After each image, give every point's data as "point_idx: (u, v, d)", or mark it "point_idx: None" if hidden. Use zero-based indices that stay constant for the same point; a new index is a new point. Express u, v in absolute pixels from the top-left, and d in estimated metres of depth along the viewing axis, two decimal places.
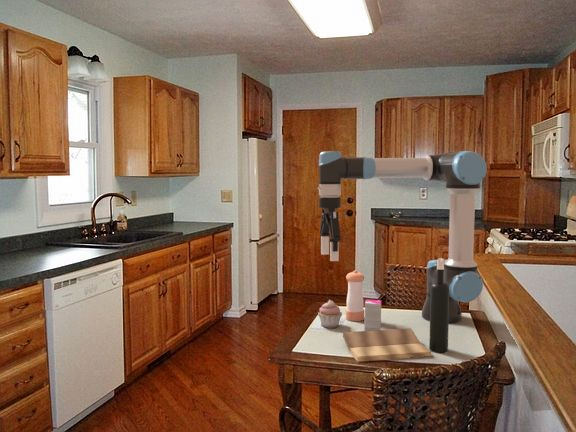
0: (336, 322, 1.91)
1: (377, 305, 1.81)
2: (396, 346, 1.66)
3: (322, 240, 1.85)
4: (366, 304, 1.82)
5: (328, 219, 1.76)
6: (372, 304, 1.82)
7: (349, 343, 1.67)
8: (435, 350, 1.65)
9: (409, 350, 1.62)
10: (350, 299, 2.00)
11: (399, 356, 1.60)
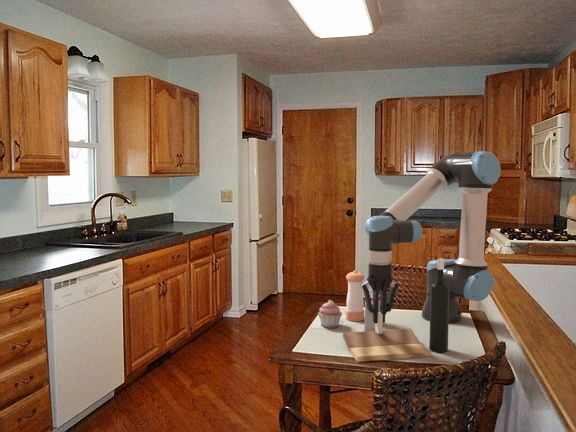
0: (336, 322, 1.91)
1: None
2: (396, 346, 1.66)
3: None
4: None
5: None
6: (372, 304, 1.82)
7: (349, 343, 1.67)
8: (435, 350, 1.65)
9: (409, 350, 1.62)
10: (350, 299, 2.00)
11: (399, 356, 1.60)
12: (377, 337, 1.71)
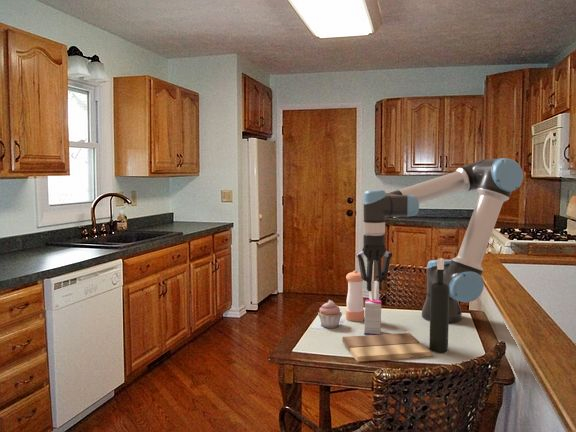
0: (336, 322, 1.91)
1: (377, 305, 1.81)
2: (396, 346, 1.66)
3: (374, 284, 1.84)
4: (366, 304, 1.82)
5: None
6: (372, 304, 1.82)
7: (349, 344, 1.67)
8: (435, 350, 1.65)
9: (409, 350, 1.62)
10: (350, 299, 2.00)
11: (399, 356, 1.60)
12: (376, 339, 1.71)
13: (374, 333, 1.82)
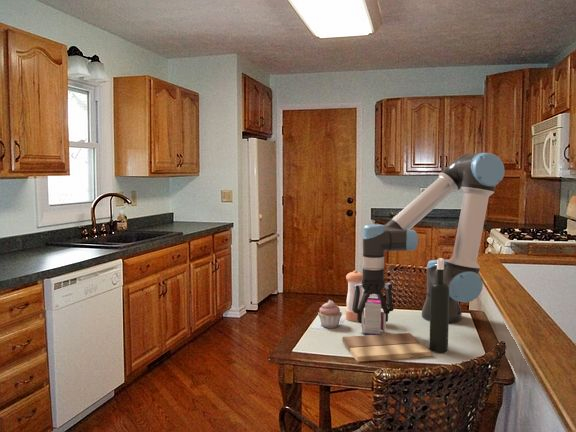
0: (336, 322, 1.91)
1: (377, 305, 1.81)
2: (396, 346, 1.66)
3: (381, 315, 1.86)
4: (366, 304, 1.82)
5: None
6: (372, 304, 1.82)
7: (349, 344, 1.67)
8: (435, 350, 1.65)
9: (409, 350, 1.62)
10: (350, 299, 2.00)
11: (399, 356, 1.60)
12: (376, 339, 1.71)
13: (374, 333, 1.82)
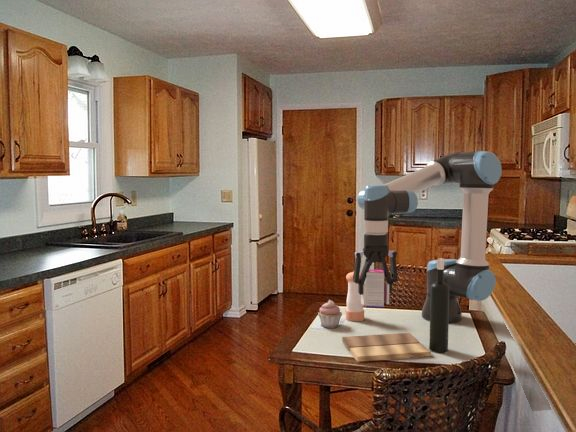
0: (336, 322, 1.91)
1: (380, 274, 1.63)
2: (396, 346, 1.66)
3: (384, 287, 1.68)
4: (367, 274, 1.64)
5: None
6: (374, 273, 1.63)
7: (349, 344, 1.67)
8: (435, 350, 1.65)
9: (409, 350, 1.62)
10: (350, 299, 2.00)
11: (399, 356, 1.60)
12: (376, 339, 1.71)
13: (377, 306, 1.64)
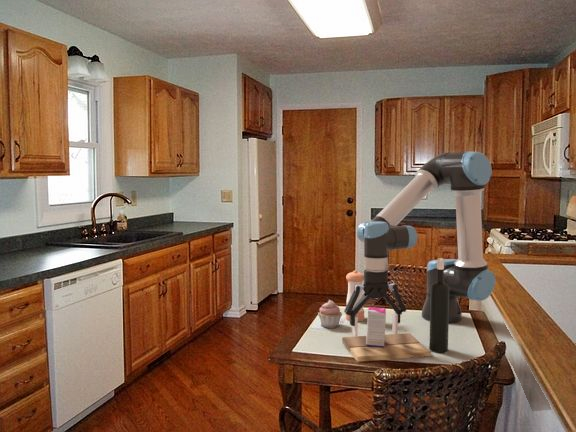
0: (336, 322, 1.91)
1: (381, 315, 1.64)
2: (396, 346, 1.66)
3: (393, 316, 1.69)
4: (369, 313, 1.64)
5: None
6: (376, 313, 1.64)
7: (349, 344, 1.68)
8: (435, 350, 1.65)
9: (409, 350, 1.62)
10: None
11: (399, 356, 1.60)
12: None
13: (377, 345, 1.65)
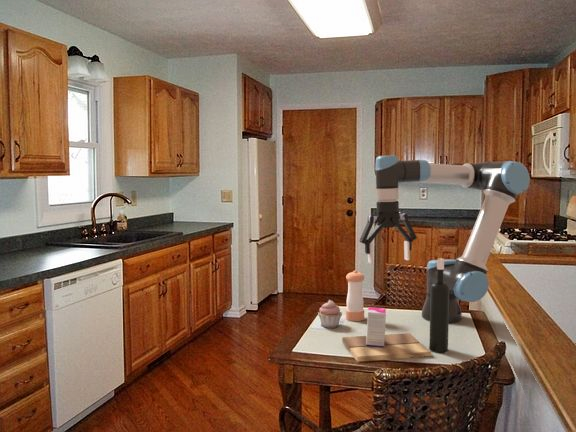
0: (336, 322, 1.91)
1: (381, 315, 1.64)
2: (396, 346, 1.66)
3: (404, 245, 1.81)
4: (369, 313, 1.64)
5: None
6: (376, 313, 1.64)
7: (349, 344, 1.68)
8: (435, 350, 1.65)
9: (409, 350, 1.62)
10: (350, 299, 2.00)
11: (399, 356, 1.60)
12: None
13: (377, 345, 1.65)
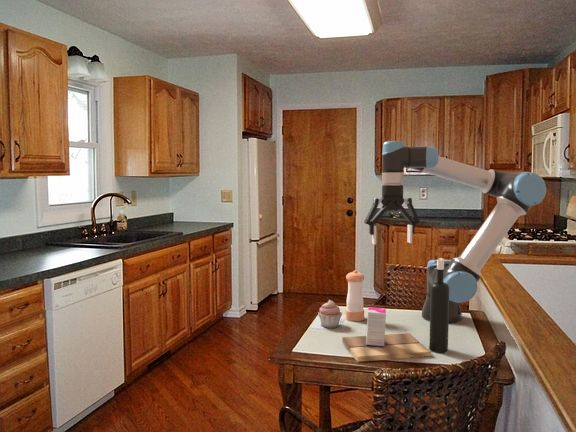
0: (336, 322, 1.91)
1: (381, 315, 1.64)
2: (396, 346, 1.66)
3: (408, 228, 1.88)
4: (369, 313, 1.64)
5: (384, 205, 1.86)
6: (376, 313, 1.64)
7: (349, 344, 1.68)
8: (435, 350, 1.65)
9: (409, 350, 1.62)
10: (350, 299, 2.00)
11: (399, 356, 1.60)
12: None
13: (377, 345, 1.65)
